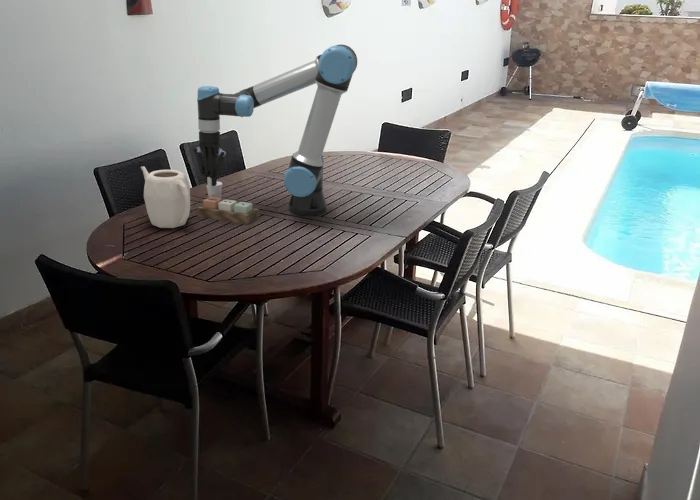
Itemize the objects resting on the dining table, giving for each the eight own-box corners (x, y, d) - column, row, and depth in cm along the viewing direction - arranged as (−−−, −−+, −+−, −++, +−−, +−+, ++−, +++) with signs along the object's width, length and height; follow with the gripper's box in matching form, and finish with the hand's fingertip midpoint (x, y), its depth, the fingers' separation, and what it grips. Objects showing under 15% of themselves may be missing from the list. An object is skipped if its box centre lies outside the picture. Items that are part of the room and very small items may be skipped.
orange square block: (222, 207, 231) (222, 198, 230) (215, 211, 227) (214, 202, 225) (210, 205, 233) (210, 196, 231) (203, 209, 228) (203, 200, 227)
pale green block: (252, 212, 227) (252, 203, 226) (246, 216, 223) (245, 206, 221) (240, 210, 229) (240, 201, 227) (234, 214, 224) (233, 204, 223)
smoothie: (219, 210, 236) (218, 175, 231) (204, 208, 237) (202, 173, 232) (226, 205, 242) (224, 171, 237) (210, 204, 243) (209, 169, 238)
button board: (258, 217, 229) (258, 208, 228) (247, 224, 221) (246, 215, 220) (210, 210, 236) (210, 201, 234) (197, 216, 228) (197, 207, 227)
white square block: (237, 210, 229) (237, 200, 228) (230, 213, 225) (230, 204, 223) (225, 208, 231) (225, 199, 229) (218, 211, 226) (218, 202, 225)
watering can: (163, 210, 233) (159, 162, 226) (208, 226, 218) (205, 175, 211) (127, 219, 222) (122, 169, 215) (172, 237, 207) (168, 183, 200)
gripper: (230, 131, 220) (231, 193, 229) (199, 127, 224) (202, 188, 233) (219, 134, 214) (221, 198, 222) (187, 130, 218) (190, 193, 226)
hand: (211, 193), depth 228 cm, fingers closed
